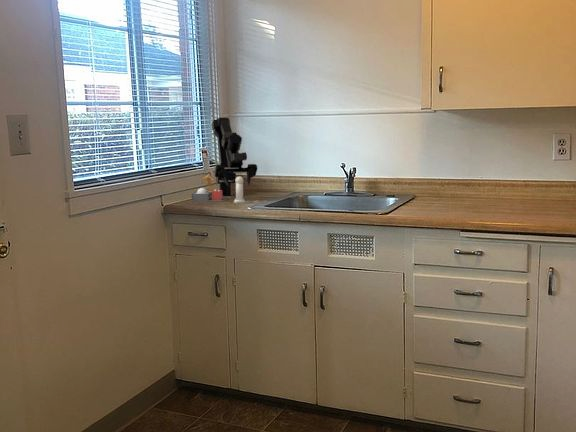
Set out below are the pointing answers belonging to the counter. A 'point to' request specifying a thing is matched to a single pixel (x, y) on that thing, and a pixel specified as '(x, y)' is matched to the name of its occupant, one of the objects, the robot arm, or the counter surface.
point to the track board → (255, 201)
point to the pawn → (239, 190)
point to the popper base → (208, 196)
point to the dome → (201, 191)
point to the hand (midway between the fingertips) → (238, 185)
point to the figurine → (208, 181)
